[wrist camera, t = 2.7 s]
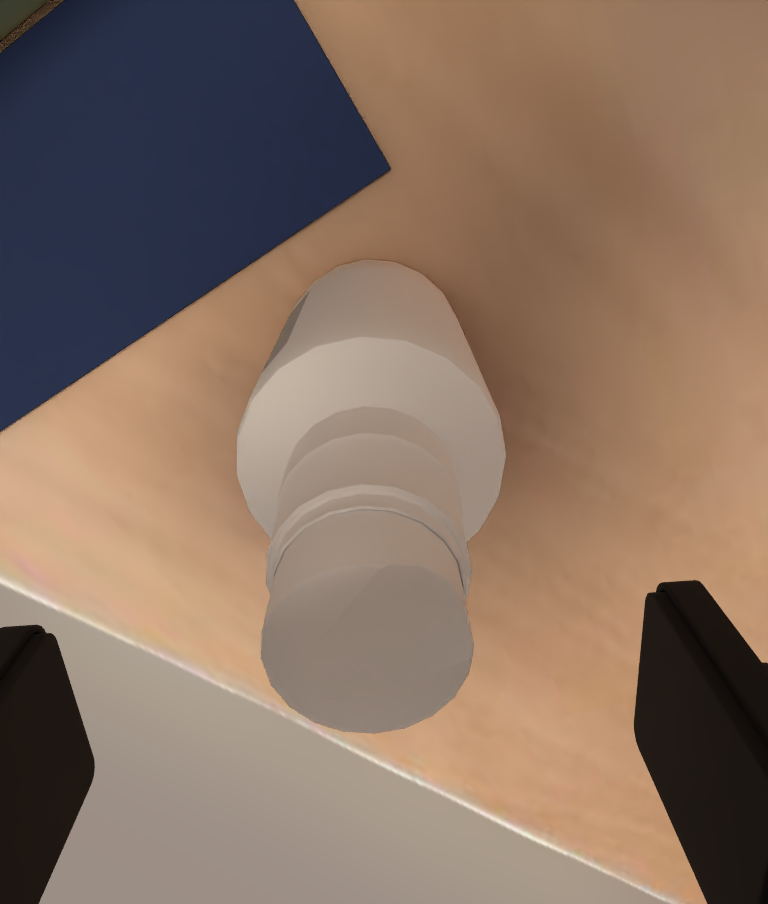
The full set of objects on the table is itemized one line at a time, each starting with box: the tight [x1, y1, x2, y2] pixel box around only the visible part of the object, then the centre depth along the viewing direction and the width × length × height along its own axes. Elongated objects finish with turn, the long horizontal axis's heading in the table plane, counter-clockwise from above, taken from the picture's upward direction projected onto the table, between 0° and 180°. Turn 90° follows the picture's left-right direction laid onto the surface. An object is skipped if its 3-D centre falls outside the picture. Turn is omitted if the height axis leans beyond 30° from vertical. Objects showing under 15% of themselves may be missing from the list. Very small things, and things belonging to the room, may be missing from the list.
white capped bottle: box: [237, 259, 506, 734], centre depth 19 cm, size 7×7×18 cm
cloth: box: [0, 0, 391, 431], centre depth 25 cm, size 10×20×1 cm, turn 122°
